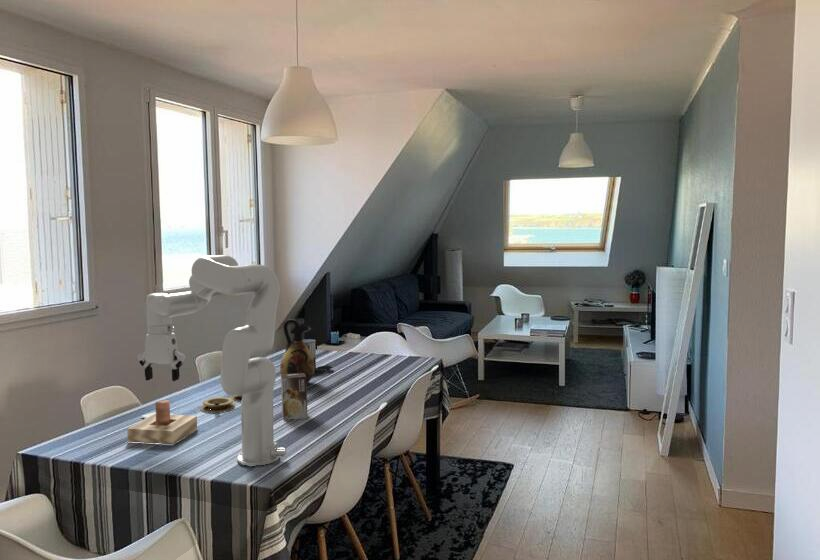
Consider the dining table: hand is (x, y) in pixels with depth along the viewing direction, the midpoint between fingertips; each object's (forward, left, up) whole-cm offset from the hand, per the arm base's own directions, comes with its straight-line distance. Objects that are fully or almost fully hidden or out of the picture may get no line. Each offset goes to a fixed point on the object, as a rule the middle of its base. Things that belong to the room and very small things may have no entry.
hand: (162, 379), depth 205 cm
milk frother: (-21, -99, -20) cm, 103 cm away
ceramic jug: (-22, -71, -20) cm, 77 cm away
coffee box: (-37, -27, -20) cm, 50 cm away
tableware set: (-5, -41, -21) cm, 47 cm away
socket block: (0, 0, -20) cm, 20 cm away
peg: (0, 0, -20) cm, 20 cm away
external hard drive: (+12, -18, -21) cm, 30 cm away
